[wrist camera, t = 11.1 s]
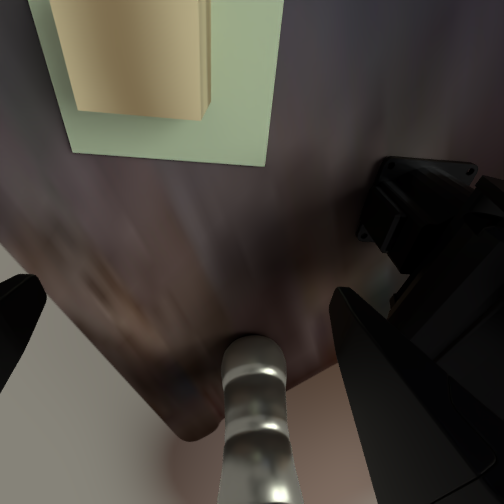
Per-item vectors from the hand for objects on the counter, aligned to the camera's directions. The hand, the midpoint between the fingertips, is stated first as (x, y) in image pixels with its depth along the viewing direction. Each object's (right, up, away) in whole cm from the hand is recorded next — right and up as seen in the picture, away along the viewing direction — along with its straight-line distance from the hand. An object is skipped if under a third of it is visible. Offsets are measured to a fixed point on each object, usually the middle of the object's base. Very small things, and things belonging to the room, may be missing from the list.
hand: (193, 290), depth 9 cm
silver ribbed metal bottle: (+2, -9, +22) cm, 24 cm away
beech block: (-3, +12, +5) cm, 13 cm away
